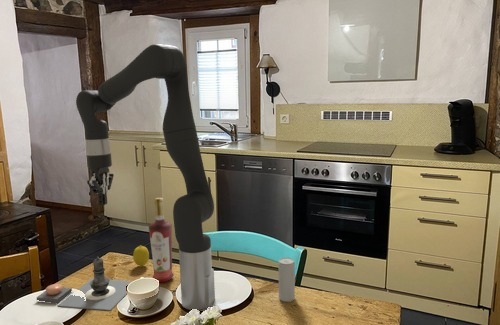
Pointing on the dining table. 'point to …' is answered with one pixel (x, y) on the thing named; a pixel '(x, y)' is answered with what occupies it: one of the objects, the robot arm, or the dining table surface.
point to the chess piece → (99, 279)
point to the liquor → (161, 244)
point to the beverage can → (286, 279)
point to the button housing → (54, 296)
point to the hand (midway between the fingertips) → (103, 204)
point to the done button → (54, 289)
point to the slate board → (98, 303)
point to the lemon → (141, 255)
